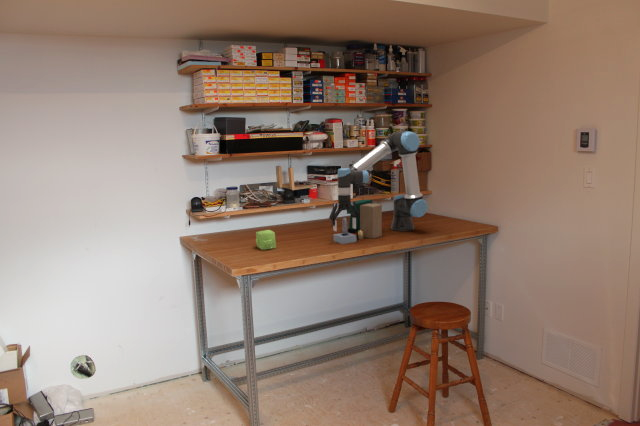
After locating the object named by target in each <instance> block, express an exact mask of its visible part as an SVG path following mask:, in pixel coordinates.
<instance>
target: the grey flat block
mask: <svg viewBox="0 0 640 426" xmlns="http://www.w3.org/2000/svg"><path fill="white" fill-rule="evenodd" d="M332 237H333V242H335V243H338V244H341V245H343V244H350V243H351V244H352V243H357V235H354V234H351V233H348V235H347V236H342V232H341V233H333V236H332Z"/></svg>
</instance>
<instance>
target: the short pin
mask: <svg viewBox="0 0 640 426" xmlns="http://www.w3.org/2000/svg"><path fill="white" fill-rule="evenodd" d="M357 239H358V240H364V237H363V230H358V235H357Z"/></svg>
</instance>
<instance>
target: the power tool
mask: <svg viewBox="0 0 640 426" xmlns="http://www.w3.org/2000/svg"><path fill="white" fill-rule="evenodd" d="M354 202H355V205H356V208H357V210H358V212H359V214H360V205H364V204H368V203H371V204H376V203H375V202H374V201H373V199H364V198H363V199H358V200H354ZM350 207H351V208H352V210H353V207H352V205H350ZM353 211H354V210H353ZM354 213H355V212H354ZM346 214H349V215H350V216H349V223H348V233H351V234H354V235H356V236H358V230H360V216H358V218H357V223H356V229H354V228H353V223H352V218H353V215H352V214H351V213H350V212H349V210H346Z"/></svg>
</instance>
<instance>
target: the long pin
mask: <svg viewBox="0 0 640 426" xmlns="http://www.w3.org/2000/svg"><path fill="white" fill-rule="evenodd" d="M341 220H342V223H341V224H342V225H341V227H342V228H341V230H342V231H341V233H342V236H347V235H348V228H349V222H348V220H349V218H347V217H343V218H342V219H341Z"/></svg>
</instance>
